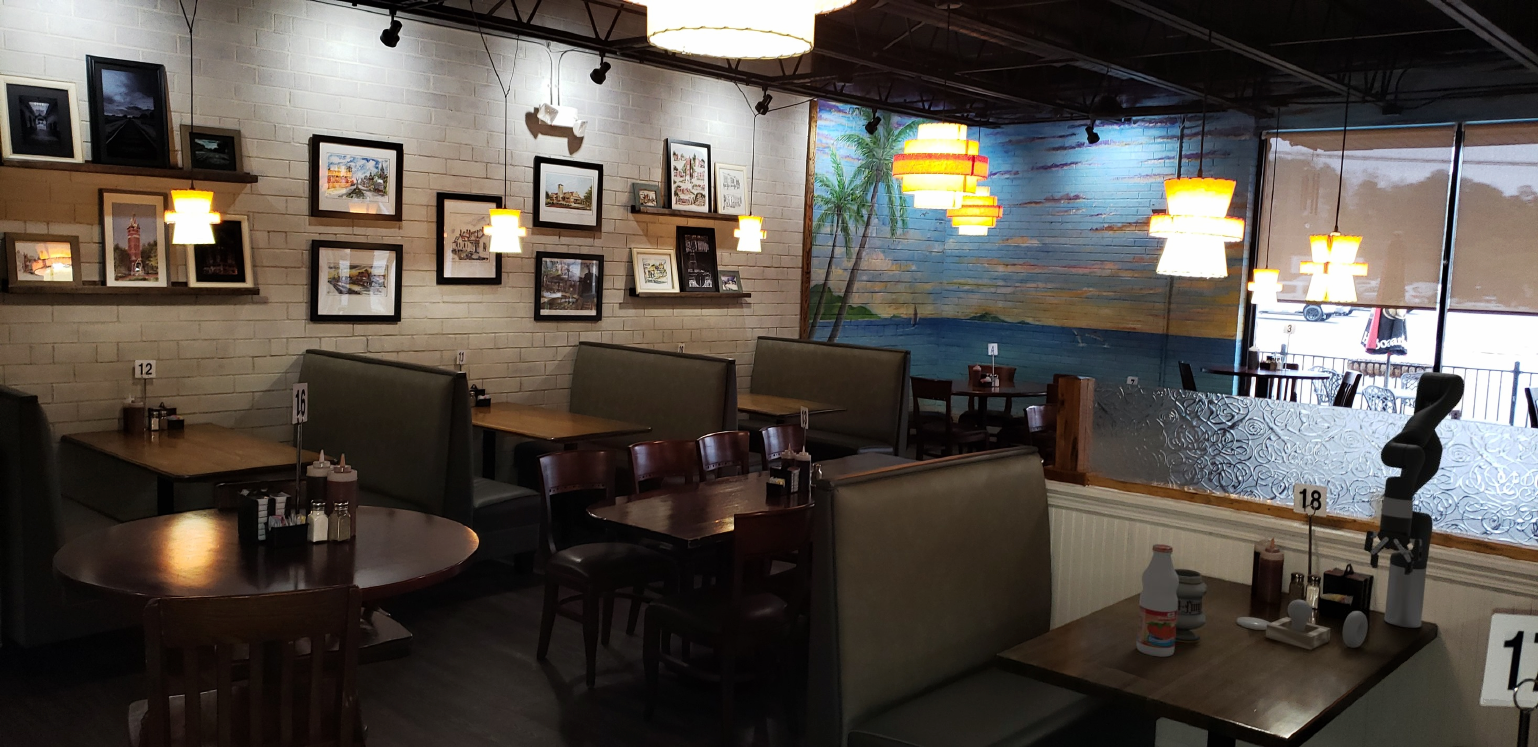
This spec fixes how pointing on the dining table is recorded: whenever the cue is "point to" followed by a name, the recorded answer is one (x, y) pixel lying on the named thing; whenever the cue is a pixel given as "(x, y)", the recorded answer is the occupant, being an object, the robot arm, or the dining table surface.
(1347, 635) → the donut
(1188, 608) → the apothecary jar
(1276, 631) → the pocket
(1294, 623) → the lightbulb
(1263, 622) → the white round part
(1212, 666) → the dining table surface
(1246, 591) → the dining table surface
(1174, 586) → the fruit juice
